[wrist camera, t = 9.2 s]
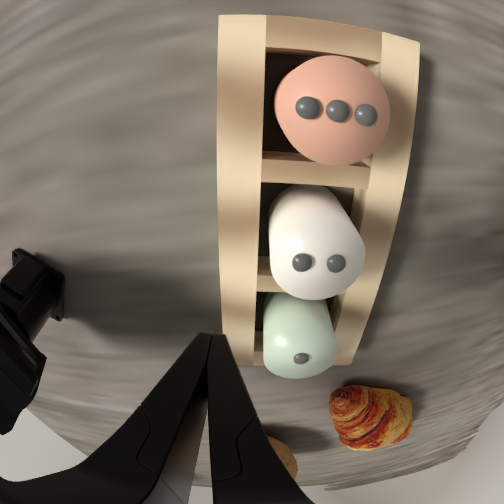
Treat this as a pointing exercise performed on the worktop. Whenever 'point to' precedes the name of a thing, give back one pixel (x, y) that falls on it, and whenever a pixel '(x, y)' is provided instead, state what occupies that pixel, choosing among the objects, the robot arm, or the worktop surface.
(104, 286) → the worktop surface
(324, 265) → the key two
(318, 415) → the worktop surface
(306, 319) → the key one
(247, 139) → the board
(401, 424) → the croissant
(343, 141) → the key three
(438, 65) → the worktop surface
